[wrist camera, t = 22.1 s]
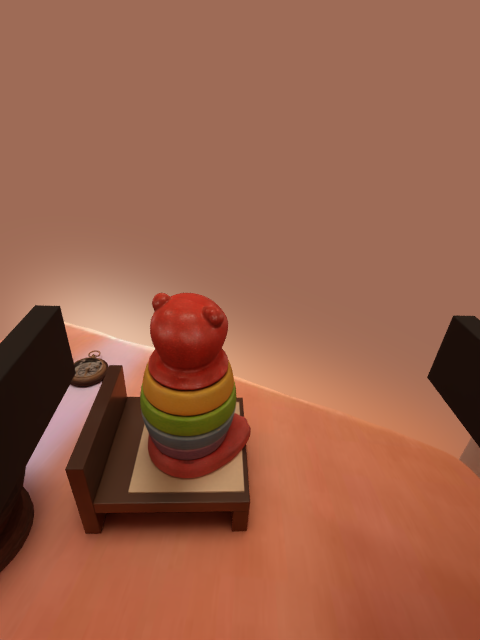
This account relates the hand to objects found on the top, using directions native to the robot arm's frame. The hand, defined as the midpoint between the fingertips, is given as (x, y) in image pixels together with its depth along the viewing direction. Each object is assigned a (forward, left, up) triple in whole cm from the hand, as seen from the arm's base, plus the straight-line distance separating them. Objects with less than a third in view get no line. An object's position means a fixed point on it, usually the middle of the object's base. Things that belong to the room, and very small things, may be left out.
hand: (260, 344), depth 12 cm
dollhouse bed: (+6, -17, -30) cm, 35 cm away
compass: (+22, -35, -30) cm, 51 cm away
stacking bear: (+4, -17, -25) cm, 30 cm away
